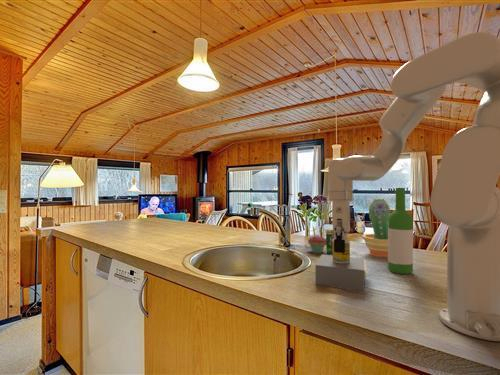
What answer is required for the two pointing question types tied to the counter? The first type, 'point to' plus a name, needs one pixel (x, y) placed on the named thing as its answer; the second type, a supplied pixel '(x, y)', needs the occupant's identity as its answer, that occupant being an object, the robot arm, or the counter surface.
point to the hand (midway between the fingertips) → (340, 249)
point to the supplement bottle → (342, 257)
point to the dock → (341, 273)
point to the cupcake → (317, 243)
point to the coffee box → (329, 241)
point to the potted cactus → (378, 228)
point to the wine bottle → (400, 237)
